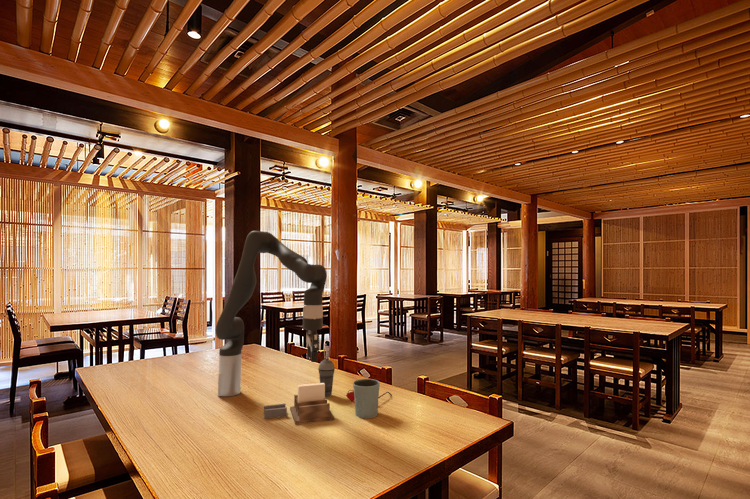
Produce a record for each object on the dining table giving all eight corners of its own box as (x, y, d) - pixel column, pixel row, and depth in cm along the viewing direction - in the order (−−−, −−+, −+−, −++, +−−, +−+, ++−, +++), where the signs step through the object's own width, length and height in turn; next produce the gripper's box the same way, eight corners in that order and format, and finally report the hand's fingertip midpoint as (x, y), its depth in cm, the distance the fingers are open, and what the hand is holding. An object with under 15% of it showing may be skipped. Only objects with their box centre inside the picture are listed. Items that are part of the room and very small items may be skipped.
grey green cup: (382, 411, 151) (383, 380, 152) (374, 420, 142) (374, 387, 142) (358, 408, 155) (358, 377, 155) (348, 417, 145) (349, 384, 146)
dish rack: (295, 424, 138) (295, 408, 138) (290, 409, 152) (290, 395, 153) (333, 419, 143) (334, 404, 143) (325, 405, 157) (325, 391, 157)
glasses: (345, 401, 163) (345, 389, 164) (364, 390, 178) (364, 379, 178) (374, 407, 157) (374, 394, 157) (392, 395, 171) (392, 384, 172)
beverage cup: (331, 398, 165) (332, 351, 166) (315, 397, 167) (316, 350, 168) (336, 393, 172) (337, 348, 173) (321, 392, 174) (321, 347, 175)
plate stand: (264, 418, 143) (264, 410, 143) (263, 413, 148) (263, 405, 148) (286, 416, 146) (286, 408, 146) (285, 411, 151) (285, 403, 151)
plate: (298, 413, 145) (298, 386, 146) (297, 411, 147) (297, 385, 147) (324, 410, 148) (324, 384, 149) (323, 408, 150) (323, 382, 151)
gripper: (300, 314, 155) (299, 355, 154) (306, 319, 141) (305, 364, 141) (319, 314, 157) (318, 354, 156) (326, 318, 144) (325, 362, 143)
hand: (312, 359), depth 148 cm, fingers open, 8 cm apart
